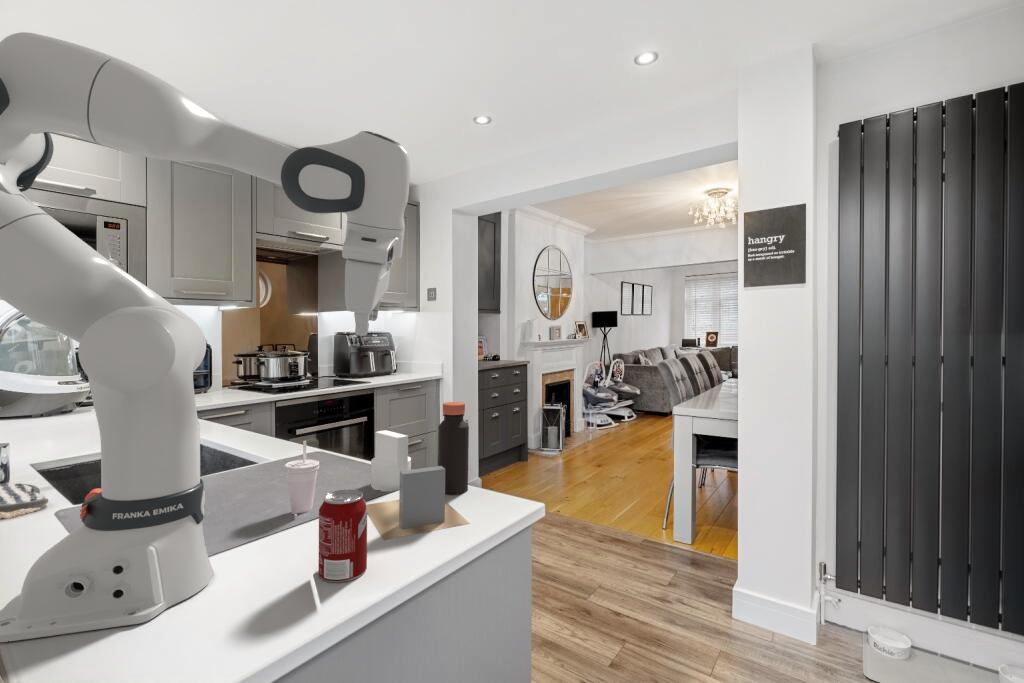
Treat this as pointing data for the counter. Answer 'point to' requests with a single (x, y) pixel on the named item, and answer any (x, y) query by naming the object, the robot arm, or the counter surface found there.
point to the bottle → (454, 448)
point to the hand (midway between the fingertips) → (366, 326)
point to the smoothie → (301, 482)
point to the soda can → (342, 536)
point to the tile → (422, 497)
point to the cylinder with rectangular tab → (389, 460)
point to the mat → (388, 527)
